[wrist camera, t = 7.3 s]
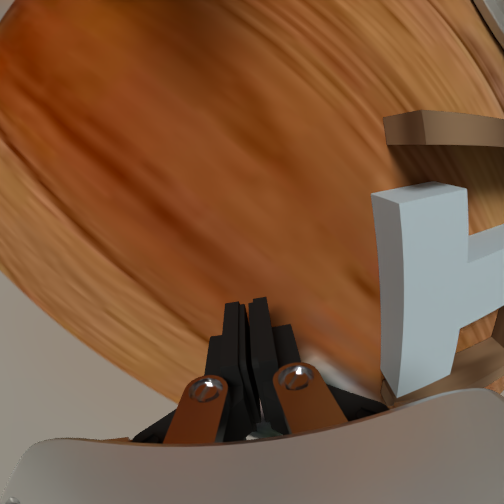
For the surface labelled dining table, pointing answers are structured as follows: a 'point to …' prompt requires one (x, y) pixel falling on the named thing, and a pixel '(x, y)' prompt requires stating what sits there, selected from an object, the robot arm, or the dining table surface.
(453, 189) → the t block
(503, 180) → the dining table surface
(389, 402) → the corral
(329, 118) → the dining table surface
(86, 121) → the dining table surface
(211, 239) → the dining table surface
